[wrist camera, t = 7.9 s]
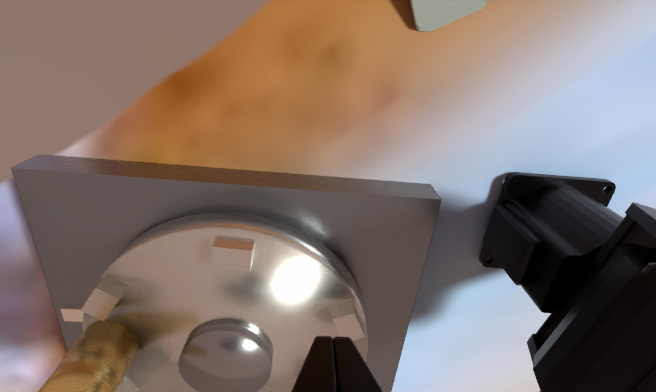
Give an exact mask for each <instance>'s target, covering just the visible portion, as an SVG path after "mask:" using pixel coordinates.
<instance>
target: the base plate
mask: <svg viewBox="0 0 656 392" xmlns="http://www.w3.org/2000/svg"><path fill="white" fill-rule="evenodd" d="M11 170H12V173H13V176H14V179H15V183H16V186H17V189H18V192H19V195H20V199H21V202H22V205H23V208H24V212H25V215H26V218H27V221H28V224H29V228H30V231H31V234H32V237H33V240H34V244H35V247H36V250H37V253H38V257H39V260H40V263H41V266H42V269H43V273H44V276H45V279H46V282H47V286H48V289H49V292H50V295H51V298H52V302H53V305H54V308H55V311H56V315H57V318H58V321H59V324H60V327H61V331H62V334H63V337H64V340H65V344H66V347H67V350H68V352H69V350H70V349H71V348H72V346H73V345H74V344H75V342H76V341H77V340H78V338H79V337H80V336H81V334H82V333H83V326H82V323H83V314H84V312H83V311H81V309H82V307H83V306H84V304H85V303H86V301H87V299H88V296H89V294H90V292H91V291H92V289H93V287H94V285H95V283H96V282H97V281H98V280H99V278H100V277H101V276H102V275H103V274H104V272H105V271H106V270H107V269H108V267H109V266H110V265H111V264H112V263H113V262H114V260H115V259H116V258H117V257H118V256H119V254H120V253H121V252H122V251H123V250H124V248H126V247H127V246H128V245H129V244H130V243H131V242H132V241H134V240H135V239H136V238H137V237H139V236H140V235H142V234H144V233H145V232H147V231H148V230H150V229H152V228H154V227H156V226H158V225H161V224H163V223H165V222H167V221H171V220H174V219H177V218H181V217H184V216H189V215H195V214H201V213H216V212H230V213H245V214H250V215H256V216H261V217H266V218H269V219H272V220H276V221H279V222H282V223H285V224H287V225H289V226H292V227H294V228H296V229H299V230H301V231H303V232H304V233H306V234H308V235H309V236H311V237H313V238H315V239H316V240H318V241H319V242H320V243H322V244H323V245H324V246H326V247H327V248H328V249H329V250H331V251H332V252H333V253H334V254H335V255H336V256H337V257H338V258H339V259H340V260H341V261H342V263H343V264H344V265H345V267H346V268H347V269H348V271H349V272H350V273H351V275H352V277H353V279H354V281H355V283H356V284H357V286H358V289H359V292H360V295H361V298H362V303H363V309H364V315H365V321H366V327H367V333H368V352H367V357H366V364H367V366H368V367H369V369H370V371H371V372H372V374H373V376H374V377H375V379H376V381H377V382H378V384H379V386H380V387H381V389H382V391H383V392H391V391H392V387H393V383H394V379H395V375H396V371H397V368H398V364H399V360H400V356H401V352H402V348H403V345H404V341H405V337H406V333H407V329H408V325H409V322H410V318H411V314H412V310H413V306H414V302H415V299H416V295H417V291H418V287H419V283H420V279H421V276H422V272H423V268H424V264H425V260H426V256H427V253H428V249H429V245H430V241H431V237H432V233H433V230H434V226H435V222H436V218H437V214H438V210H439V207H440V203H441V198H440V197H439V196H438V194H437V193H436V191H435V190H434V188H433V187H432V186H431V184H419V183H406V182H393V181H380V180H367V179H354V178H341V177H327V176H314V175H301V174H288V173H275V172H262V171H249V170H236V169H222V168H209V167H196V166H183V165H170V164H157V163H144V162H131V161H117V160H104V159H91V158H78V157H65V156H52V155H37V156H35V157H33V158H31V159H29V160H26V161H25V162H22V163H20V164H18V165H16V166H14V167H12V168H11Z"/></svg>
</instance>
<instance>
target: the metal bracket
mask: <svg viewBox="0 0 656 392" xmlns="http://www.w3.org/2000/svg"><path fill="white" fill-rule="evenodd" d="M486 2H487V0H410V4H411V9H412V14H413V19H414V24H415V26H416V28H417V29H418V30H419V31H433V30H435V29H437V28H439V27H442V26H444V25H446V24H449V23H451V22H453V21H456V20H458V19H460V18H462V17H465V16H467V15H469V14H472V13H474V12H476V11H478V10H481V9H483V8H484V7H485V4H486Z"/></svg>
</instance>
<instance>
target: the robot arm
mask: <svg viewBox="0 0 656 392" xmlns="http://www.w3.org/2000/svg"><path fill="white" fill-rule="evenodd" d="M516 179H518V181H517V182H516V183H515V184H513V181H514V180H516ZM604 187H606V188H605V189H604ZM615 188H616V186H615V184H614V183H613V182H611V181H609V180H606V179H595V178H582V177H570V176H557V175H545V174H532V173H520V172H514V173H511V174H509V175H508V176H507V177H506V179H505V182H504V185H503V188H502V191H501V194H500V197H499V200H498V203H497V205H496V207H495V208H494V209H493V212H492V215H491V218H490V221H489V224H488V227H487V230H486V233H485V236H484V239H483V242H484V244H483V247H482V250H481V253H480V256H479V261H480V262H481V264H482V265H483V266H484V267H490V268H503V269H504V270H505V271H506V273H507V274H508V275H509V277H510V278H511V279H512V281H513V282H514V283H515V284H516V285H521V286H522V287H523V289H524V290H525V291H526V292H527V294H528V295H529V296H530V298H531V299H532V300H533V301H534V303H535V304H536V305H537V307H538V308H539V309H540V310H541V312H544V313H551V314H550V316H549V317H548V318H547V320H546V321H545V322H544V324H543V325H542V326H541V327H540V329H539V330H538V331H537V333H536V334H532V336H531V337H530V338H529V339H528V341H527V344H528V348H529V351H530V355H531V358H532V362H533V370H534V373H535V376H536V379H537V382H538V385H539V387H540V392H656V209H653V208H650V207H647V206H644V205H640V204H637V203H634V202H633V203H632V204H631V205H630V207H629V208H628V209H627V211H626V212H625V213H626V214H627V215H626V216H625V218H623V217H621V216H620V215H618V214H616V213H615V212H613V211H612V210H610V209H609V208H607V206H608V204H609V202H610V200H611V197H612V195H613V193H614V191H615ZM603 189H604V190H603ZM487 258H490V259H489V260H486V259H487ZM485 260H486V261H485ZM291 392H383V391H382V389H381V387H380V386H379V384H378V382H377V381H376V379H375V377H374V376H373V374H372V372H371V371H370V369H369V367H368V366H367V364H366V362H365V361H364V359H363V357H362V356H361V354H360V353H359V351H358V349H357V348H356V346H355V344H354V343H353V341H352V339H351V338H349V337H338V336H336V337H334V338H332V337H331V336H316V337H315V338H314V341H313V343H312V345H311V347H310V350H309V352H308V354H307V357H306V359H305V361H304V363H303V366H302V368H301V370H300V373H299V375H298V377H297V380H296V382H295V384H294V386H293V389H292V391H291Z"/></svg>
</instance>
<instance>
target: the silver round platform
mask: <svg viewBox="0 0 656 392" xmlns="http://www.w3.org/2000/svg"><path fill="white" fill-rule="evenodd" d="M81 311H83V312H84V314H83V323H82V326H83V333H82V334H81V336H80V337H79V338H78V340H77V341H76V342H75V344H74V345H73V346H72V348H71V349H70V350H69V352H68V353H67V354H66V356H65V357H64V358H63V360H62V361H61V362H60V364H59V365H58V366H57V368H56V369H55V370H54V372H53V373H52V374H51V376H50V377H49V378H48V380H47V381H46V382H45V384H44V385H43V386H42V388H41V389H40V390H39V392H291V391H292V389H293V386H294V384H295V382H296V380H297V377H298V375H299V373H300V370H301V368H302V366H303V363H304V361H305V359H306V357H307V354H308V352H309V350H310V347H311V345H312V343H313V341H314V338H315V337H316V336H331V337H332V338H334V337H336V336H338V337H349V338H351V339H352V341H353V343H354V344H355V346H356V348H357V349H358V351H359V353H360V354H361V356H362V357H363V359H364V361H365V362H366V357H367V352H368V333H367V327H366V321H365V315H364V309H363V303H362V298H361V295H360V292H359V289H358V286H357V284H356V283H355V281H354V279H353V277H352V275H351V273H350V272H349V271H348V269H347V268H346V267H345V265H344V264H343V263H342V261H341V260H340V259H339V258H338V257H337V256H336V255H335V254H334V253H333V252H332V251H331V250H329V249H328V248H327V247H326V246H324V245H323V244H322V243H320V242H319V241H318V240H316V239H315V238H313V237H311V236H309V235H308V234H306V233H304V232H303V231H301V230H299V229H296V228H294V227H292V226H289V225H287V224H285V223H282V222H279V221H276V220H272V219H269V218H266V217H261V216H256V215H250V214H245V213H230V212H216V213H201V214H195V215H189V216H184V217H181V218H177V219H174V220H171V221H167V222H165V223H163V224H161V225H158V226H156V227H154V228H152V229H150V230H148V231H147V232H145V233H144V234H142V235H140V236H139V237H137V238H136V239H135V240H134V241H132V242H131V243H130V244H129V245H128V246H127V247H126V248H124V250H123V251H122V252H121V253H120V254H119V256H118V257H117V258H116V259H115V260H114V262H113V263H112V264H111V265H110V266H109V267H108V269H107V270H106V271H105V272H104V274H103V275H102V276H101V277H100V278H99V280H98V281H97V282H96V283H95V285H94V287H93V289H92V291H91V292H90V294H89V296H88V299H87V301H86V303H85V304H84V306H83V307H82V309H81Z"/></svg>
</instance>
